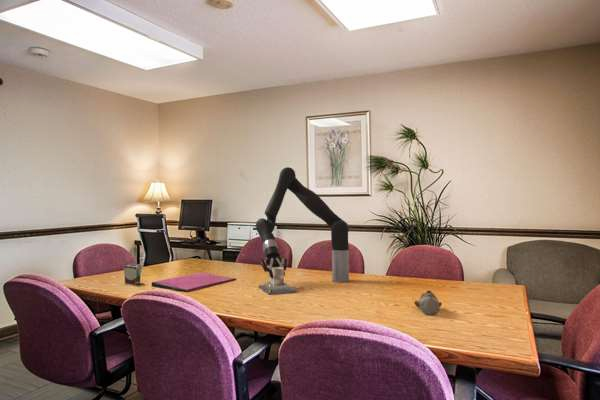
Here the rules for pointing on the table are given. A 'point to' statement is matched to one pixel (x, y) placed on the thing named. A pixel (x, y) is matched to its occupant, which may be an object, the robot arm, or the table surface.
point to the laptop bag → (191, 282)
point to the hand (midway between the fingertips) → (277, 276)
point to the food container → (132, 273)
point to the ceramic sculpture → (428, 303)
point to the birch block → (277, 276)
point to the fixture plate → (276, 288)
